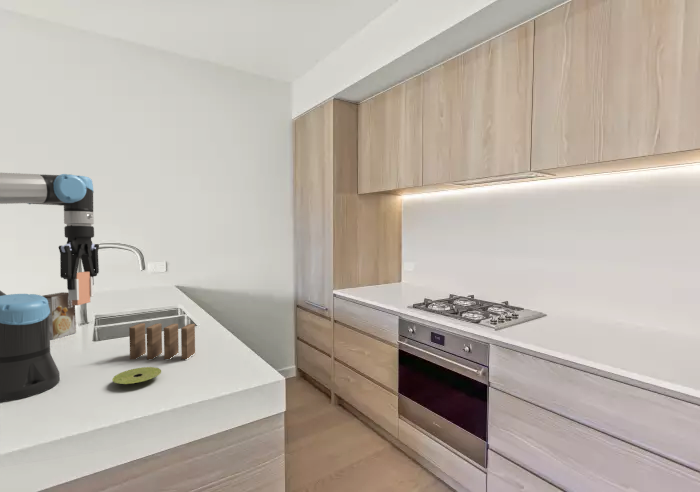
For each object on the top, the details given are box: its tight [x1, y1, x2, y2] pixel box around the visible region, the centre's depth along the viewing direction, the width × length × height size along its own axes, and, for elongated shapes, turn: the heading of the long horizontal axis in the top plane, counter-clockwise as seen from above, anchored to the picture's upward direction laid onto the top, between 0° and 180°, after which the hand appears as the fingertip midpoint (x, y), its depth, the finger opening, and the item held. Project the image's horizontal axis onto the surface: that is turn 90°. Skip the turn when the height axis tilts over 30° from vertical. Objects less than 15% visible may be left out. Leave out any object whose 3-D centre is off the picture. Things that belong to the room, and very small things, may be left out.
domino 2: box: [128, 322, 147, 360], centre depth 115 cm, size 2×5×10 cm, turn 177°
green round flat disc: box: [112, 366, 162, 385], centre depth 96 cm, size 11×11×2 cm
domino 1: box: [71, 271, 91, 306], centre depth 115 cm, size 2×5×10 cm, turn 177°
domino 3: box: [145, 323, 163, 360], centre depth 115 cm, size 2×5×10 cm, turn 178°
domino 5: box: [180, 323, 196, 360], centre depth 114 cm, size 2×5×10 cm, turn 177°
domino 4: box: [163, 323, 180, 359], centre depth 115 cm, size 2×5×10 cm, turn 178°
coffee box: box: [42, 292, 77, 340], centre depth 137 cm, size 9×6×16 cm
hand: (81, 298), depth 115 cm, fingers closed on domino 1, 5 cm apart
